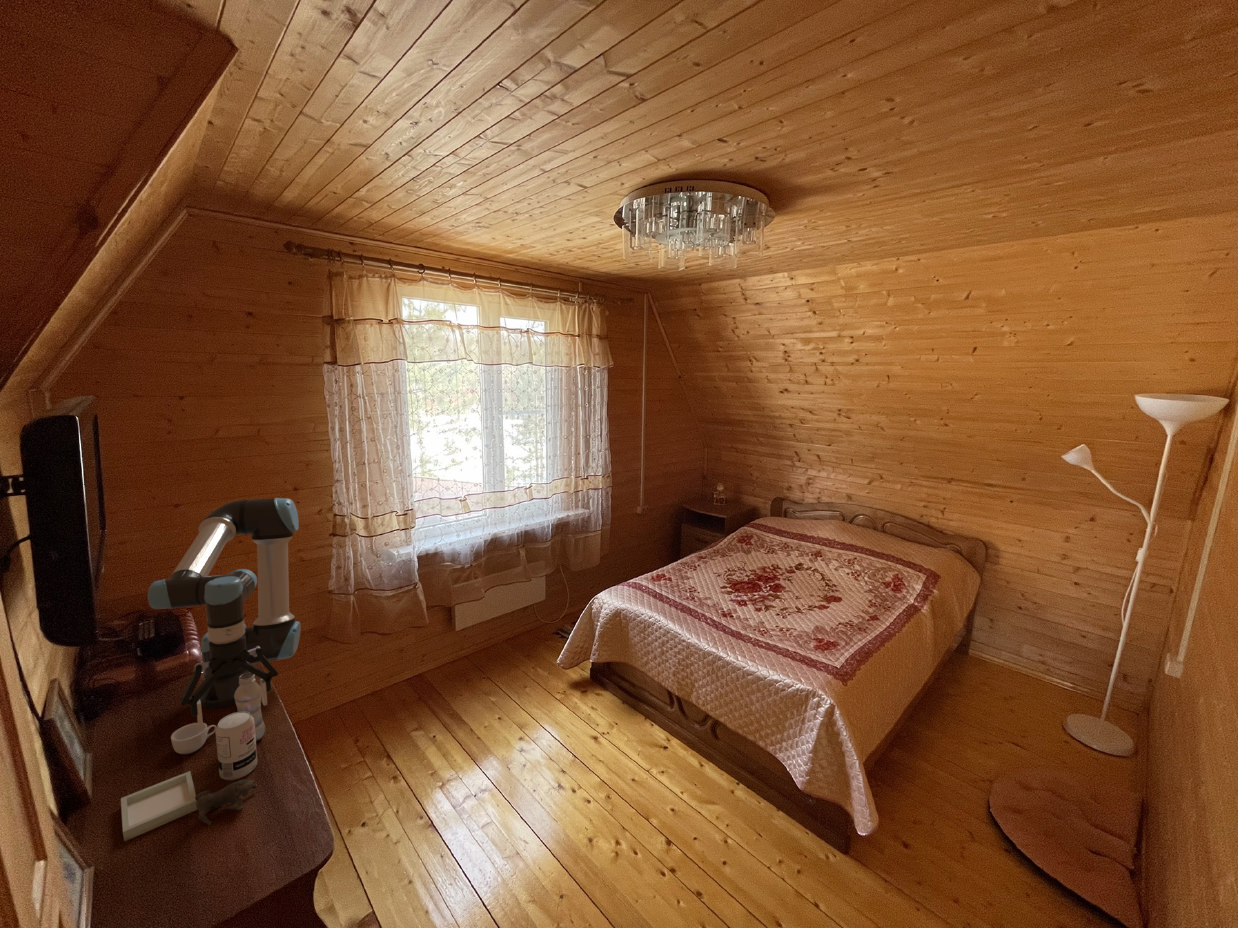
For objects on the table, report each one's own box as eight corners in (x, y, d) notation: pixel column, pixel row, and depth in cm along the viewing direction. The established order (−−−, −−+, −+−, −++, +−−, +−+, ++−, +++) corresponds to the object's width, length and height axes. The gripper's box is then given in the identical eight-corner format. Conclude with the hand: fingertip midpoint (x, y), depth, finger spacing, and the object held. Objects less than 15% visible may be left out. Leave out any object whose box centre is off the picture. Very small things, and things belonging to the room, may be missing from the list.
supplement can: (224, 764, 139) (220, 714, 137) (260, 756, 142) (257, 707, 140) (215, 785, 132) (210, 733, 129) (253, 776, 135) (249, 725, 133)
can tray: (121, 807, 124) (120, 798, 124) (191, 779, 133) (190, 770, 133) (124, 841, 115) (122, 832, 115) (198, 809, 124) (197, 800, 124)
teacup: (176, 762, 139) (174, 745, 138) (169, 749, 144) (167, 732, 143) (221, 743, 147) (219, 726, 146) (213, 731, 151) (212, 715, 150)
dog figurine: (198, 830, 119) (195, 802, 118) (197, 814, 123) (193, 787, 122) (260, 803, 127) (258, 776, 126) (257, 789, 131) (254, 763, 130)
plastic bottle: (251, 748, 145) (246, 684, 142) (232, 744, 146) (226, 680, 143) (271, 733, 151) (266, 671, 148) (252, 730, 153) (247, 668, 149)
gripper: (164, 660, 120) (172, 742, 123) (287, 627, 137) (292, 700, 140) (161, 648, 125) (169, 727, 128) (280, 618, 142) (285, 688, 145)
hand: (233, 713), depth 134 cm, fingers open, 13 cm apart
